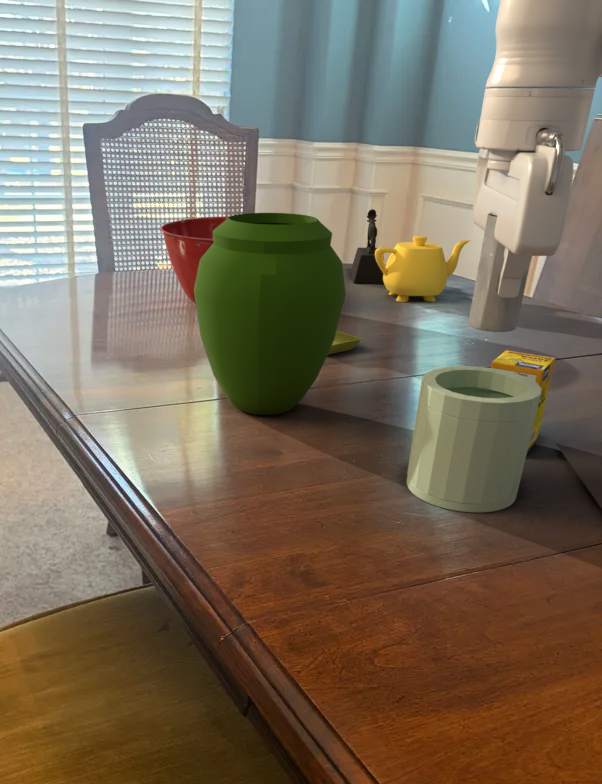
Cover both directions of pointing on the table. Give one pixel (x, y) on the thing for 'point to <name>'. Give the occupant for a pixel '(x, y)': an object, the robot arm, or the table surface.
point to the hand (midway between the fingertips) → (499, 289)
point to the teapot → (417, 268)
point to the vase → (268, 307)
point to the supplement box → (534, 370)
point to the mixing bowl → (189, 247)
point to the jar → (471, 437)
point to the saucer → (343, 342)
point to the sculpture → (367, 258)
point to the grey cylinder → (493, 288)
